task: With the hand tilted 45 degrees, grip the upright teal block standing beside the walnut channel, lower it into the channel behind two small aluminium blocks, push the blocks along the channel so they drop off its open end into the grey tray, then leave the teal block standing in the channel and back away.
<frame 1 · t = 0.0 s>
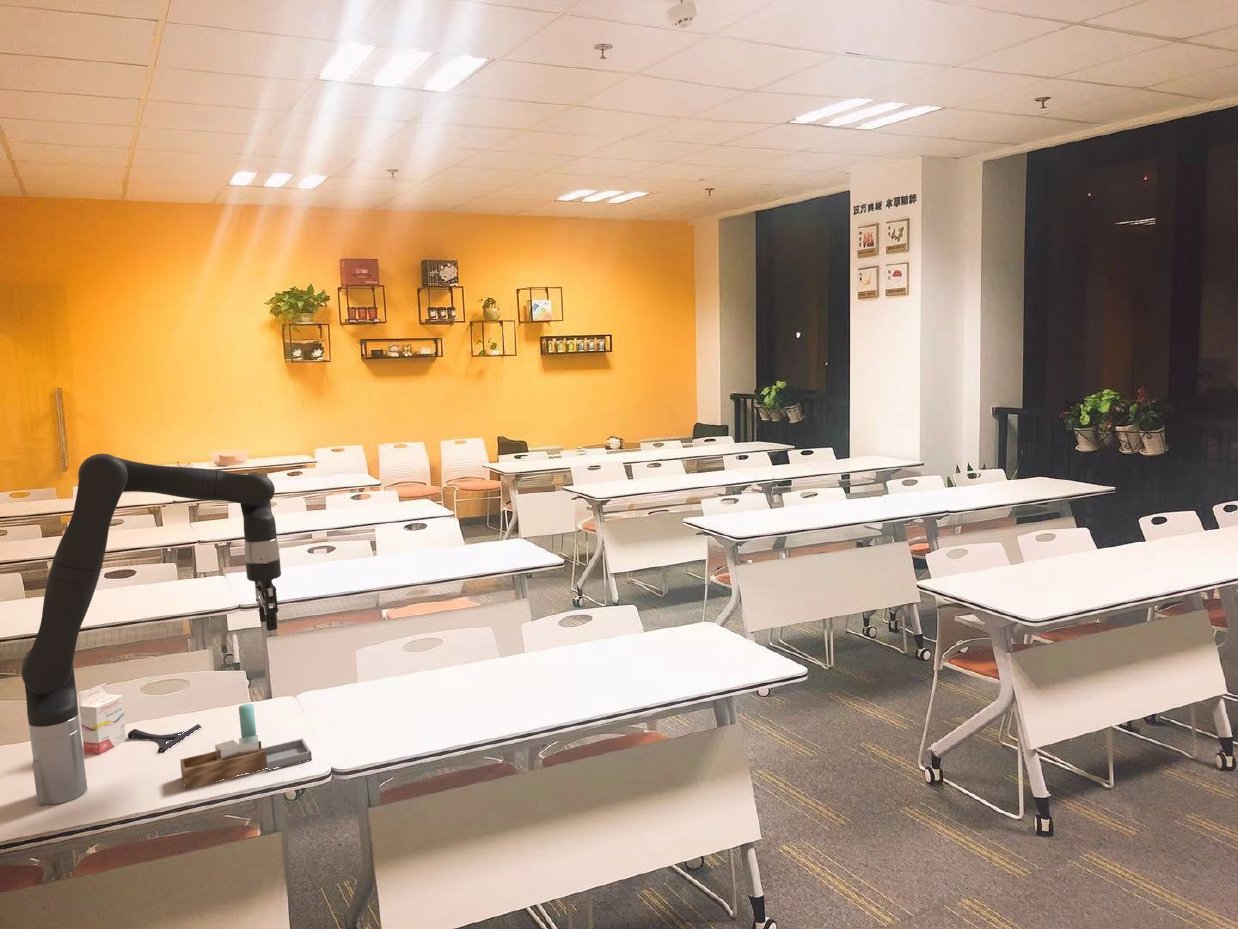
hand: (268, 625, 224), 29 cm above the table, tool pointing down, fingers open, 8 cm apart
chip b: (250, 757, 215), point 2 cm above the table, touching channel, chip a
channel: (225, 773, 213), on the table
ink cartridge box: (106, 747, 231), on the table
chip a: (228, 762, 213), point 2 cm above the table, touching channel, chip b
tray: (286, 758, 219), on the table
teal block: (250, 756, 222), on the table
bracket: (157, 742, 234), on the table
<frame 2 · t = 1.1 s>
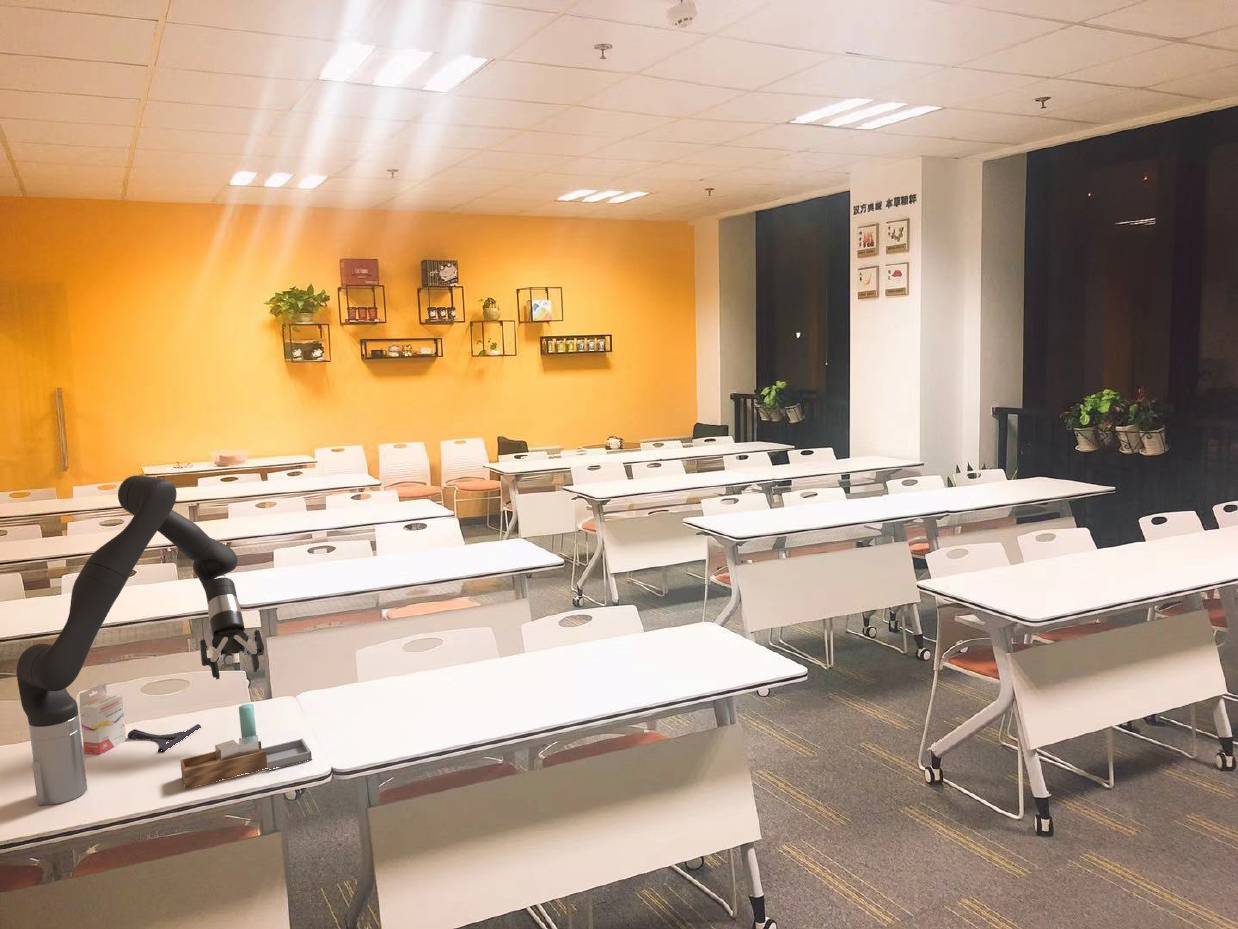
hand: (237, 674, 229), 17 cm above the table, tool tilted 45°, fingers open, 8 cm apart
nothing on the table moved.
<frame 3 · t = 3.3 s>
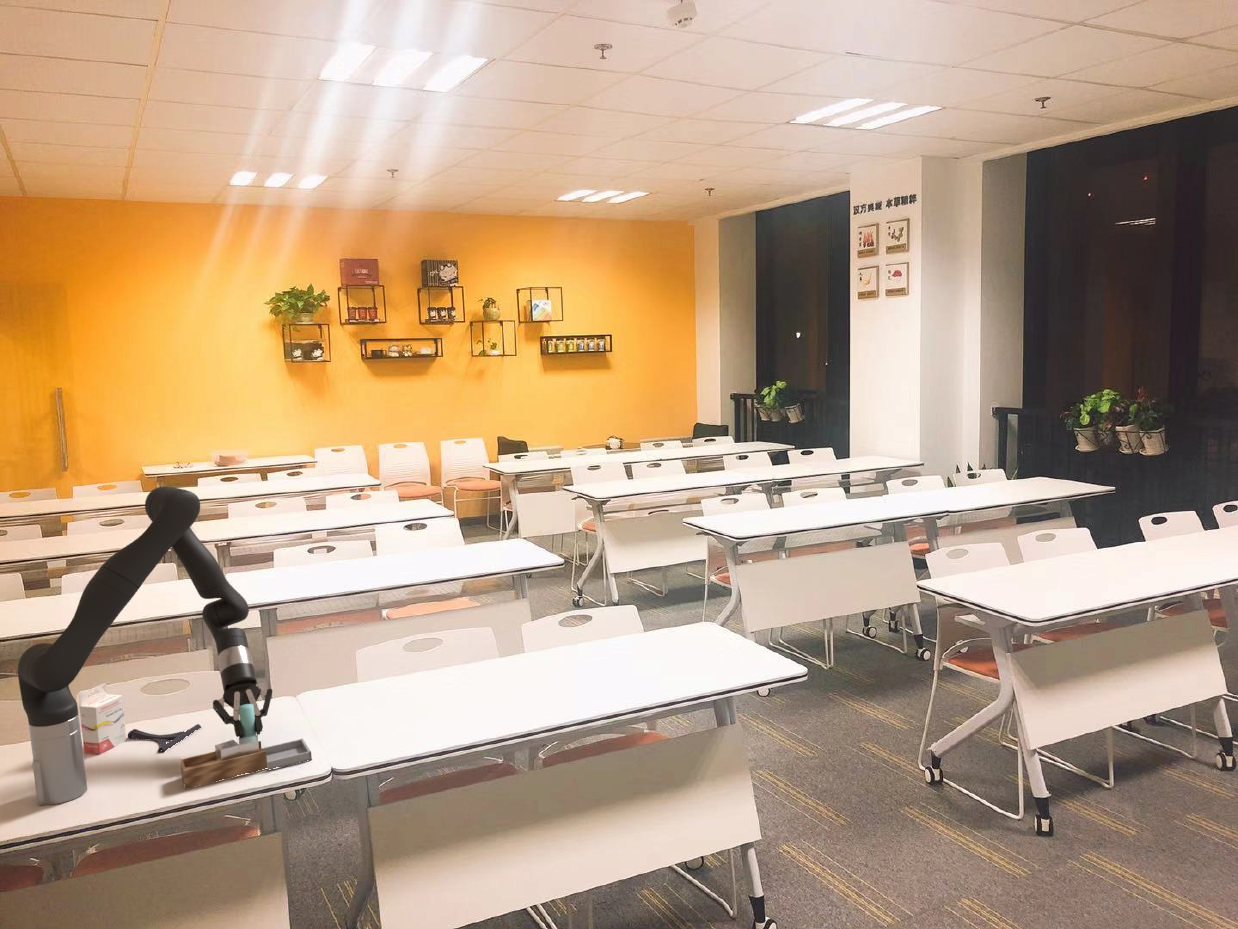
hand: (250, 734, 219), 6 cm above the table, tool tilted 45°, fingers closed on teal block, 3 cm apart
teal block: (250, 755, 222), on the table, touching gripper
everything else where it was.
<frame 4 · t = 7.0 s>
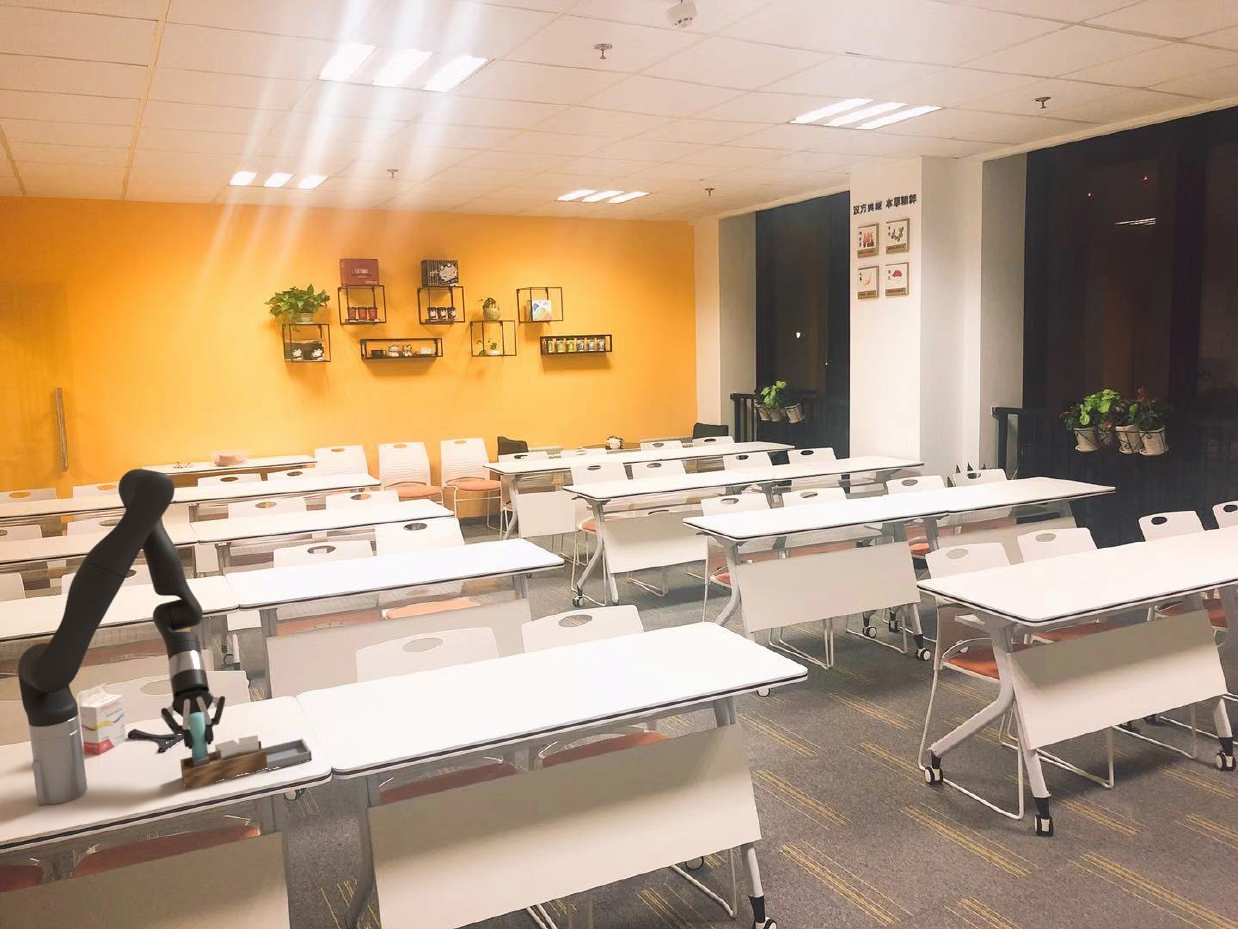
hand: (200, 745, 208), 8 cm above the table, tool tilted 45°, fingers closed on teal block, 3 cm apart
teal block: (201, 767, 210), point 3 cm above the table, touching gripper
everything else where it was.
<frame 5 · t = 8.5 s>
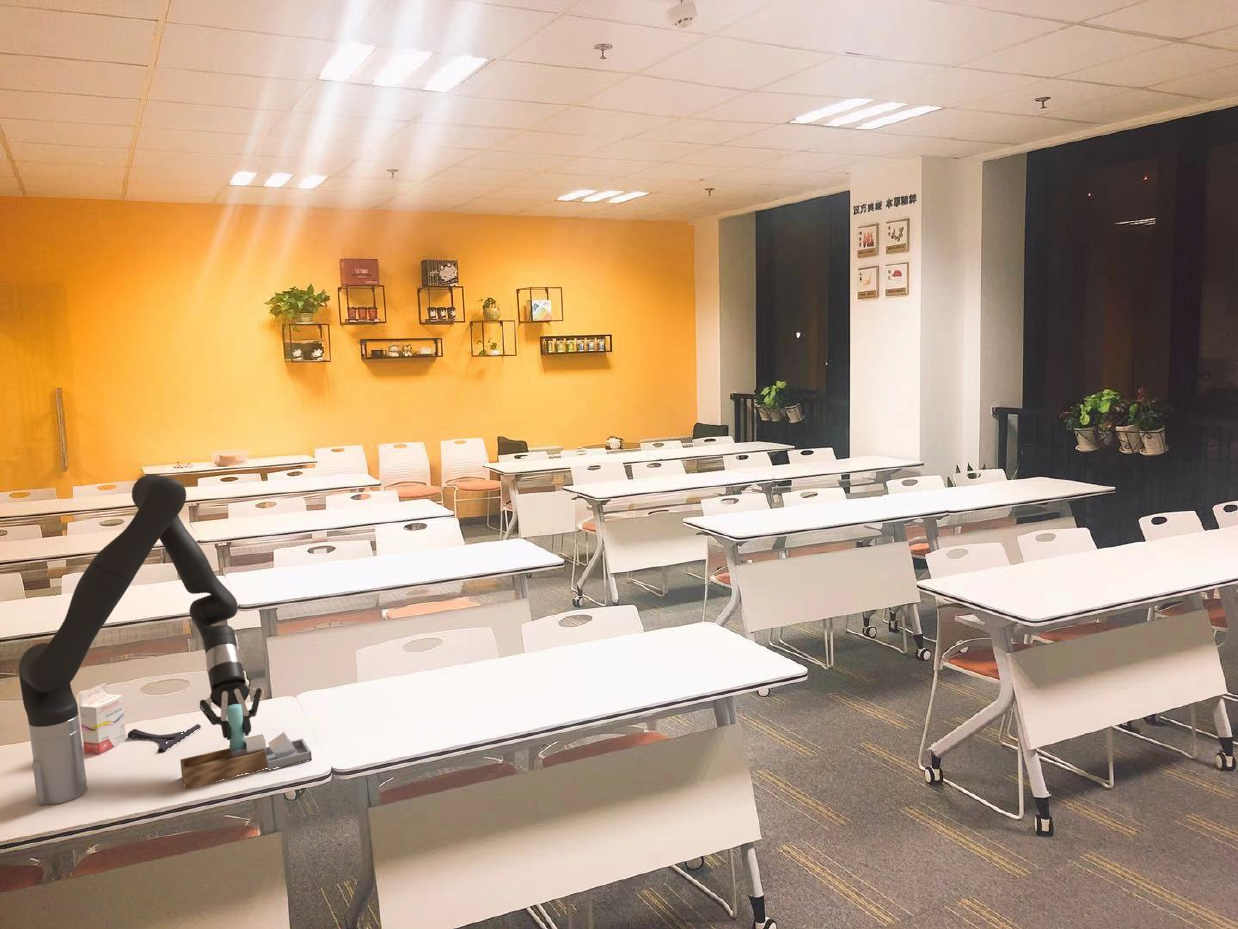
hand: (238, 736, 212), 9 cm above the table, tool tilted 45°, fingers closed on teal block, 3 cm apart
chip b: (274, 752, 218), point 2 cm above the table, tilted 63°, touching tray
chip a: (256, 756, 216), point 2 cm above the table, touching teal block
teal block: (238, 757, 214), point 3 cm above the table, touching chip a, gripper
everything else where it was.
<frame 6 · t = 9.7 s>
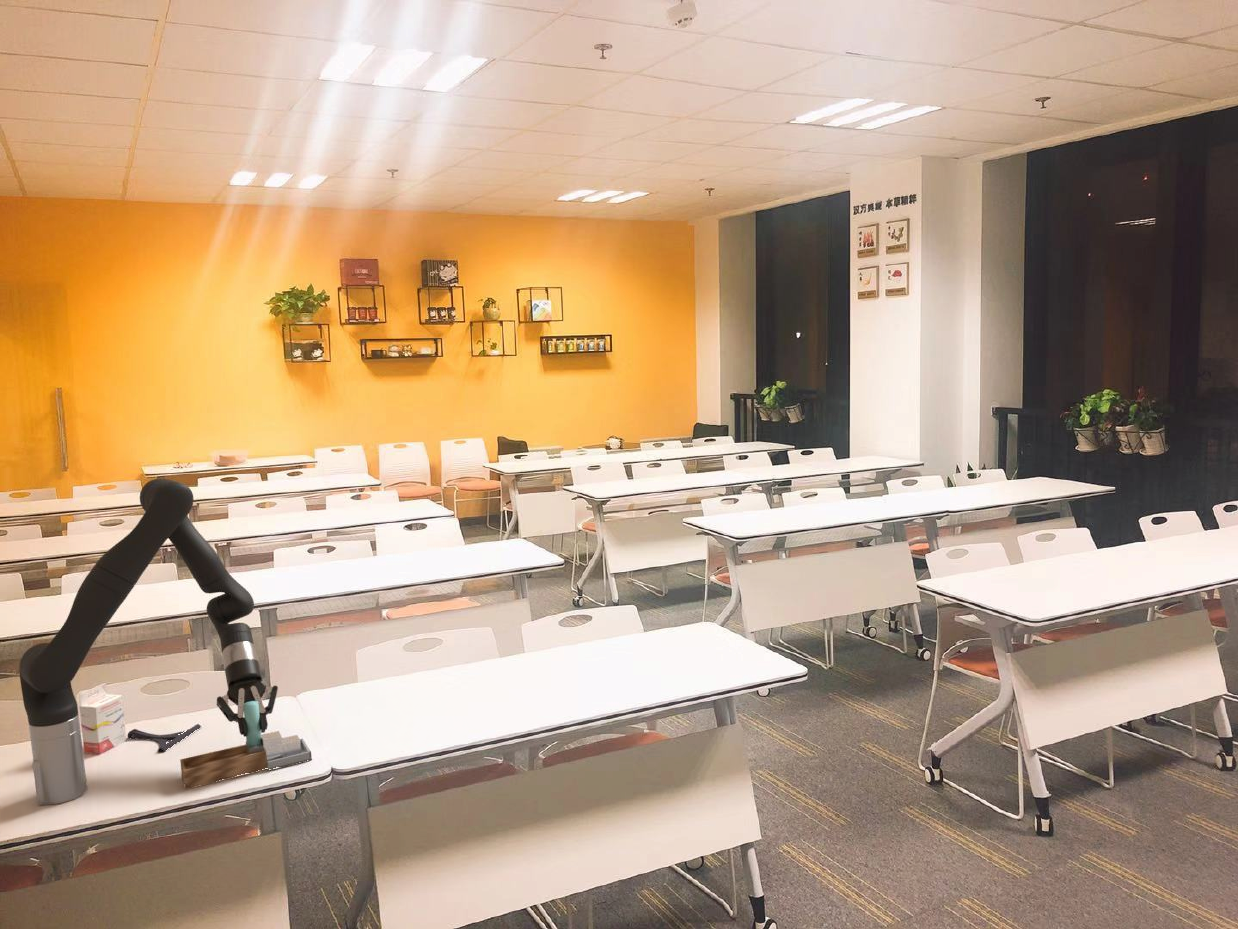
hand: (254, 732, 213), 8 cm above the table, tool tilted 45°, fingers closed on teal block, 3 cm apart
chip b: (281, 750, 218), point 2 cm above the table, tilted 91°, touching chip a, tray
chip a: (272, 752, 217), point 2 cm above the table, touching channel, chip b, teal block
teal block: (255, 754, 216), point 3 cm above the table, touching chip a, gripper
everything else where it was.
when the fingers open (8 cm above the table, at t = 10.7 s): teal block stays where it is, resting on channel.
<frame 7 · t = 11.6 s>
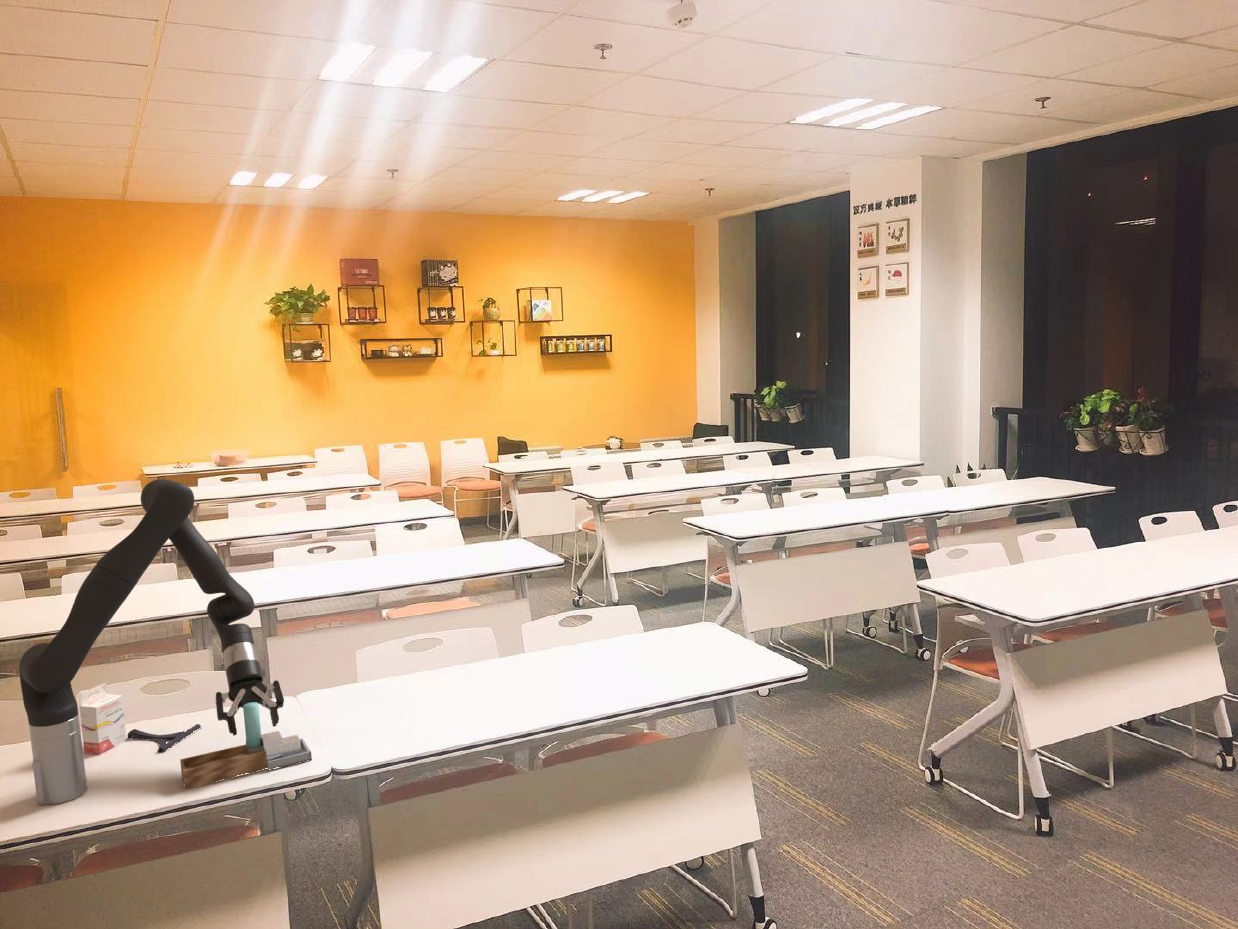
hand: (255, 729, 214), 9 cm above the table, tool tilted 45°, fingers open, 8 cm apart
chip a: (272, 752, 217), point 2 cm above the table, touching channel, chip b
teal block: (255, 755, 216), point 2 cm above the table, touching channel
everything else where it was.
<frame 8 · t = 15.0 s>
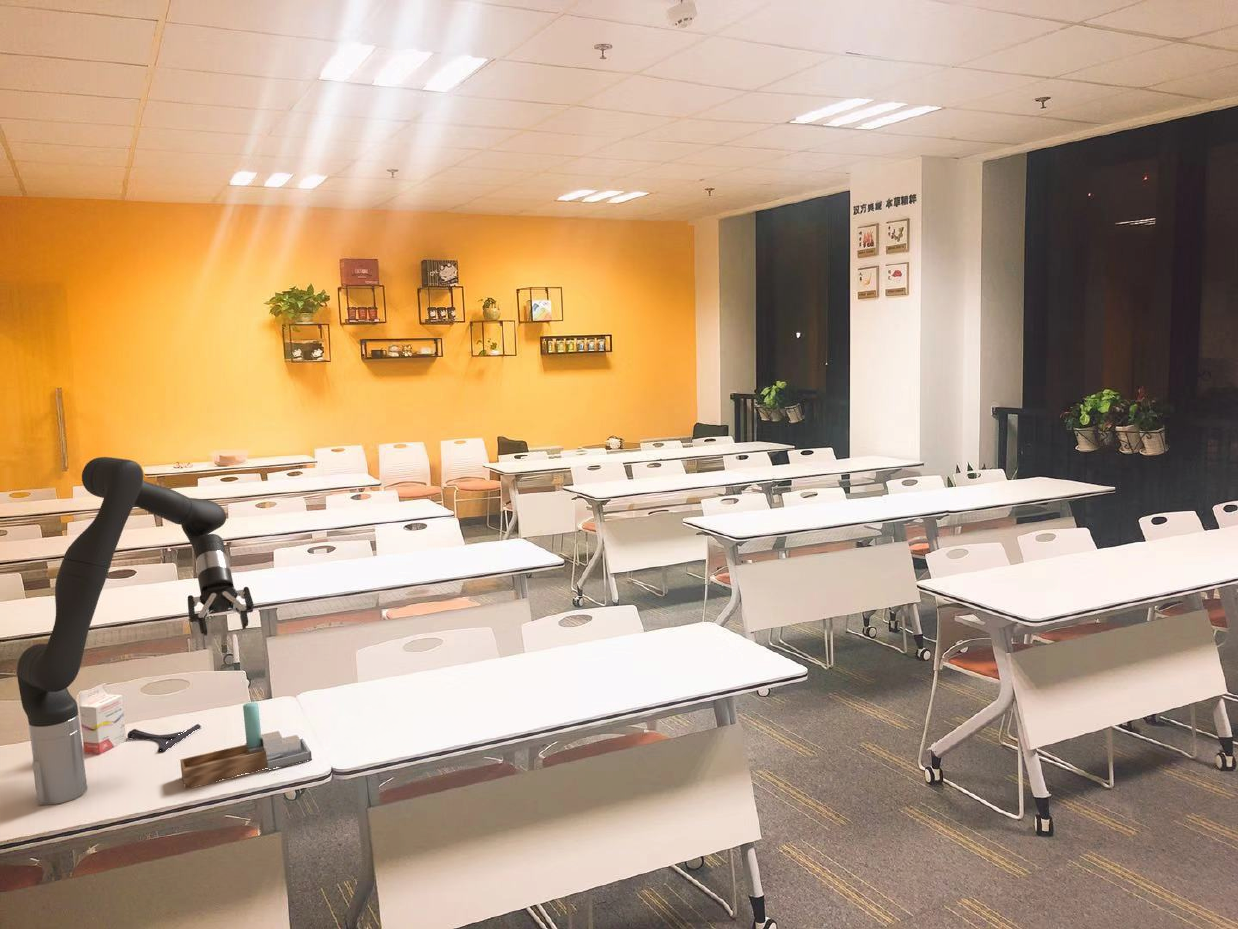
hand: (225, 630, 224), 29 cm above the table, tool tilted 45°, fingers open, 8 cm apart
nothing on the table moved.
at the end: chip a inside the target area on the tray (3.3 cm from its centre), point 2.4 cm above the tray's base; chip b inside the target area on the tray (1.3 cm from its centre), point 2.5 cm above the tray's base; the gripper is holding nothing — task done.
